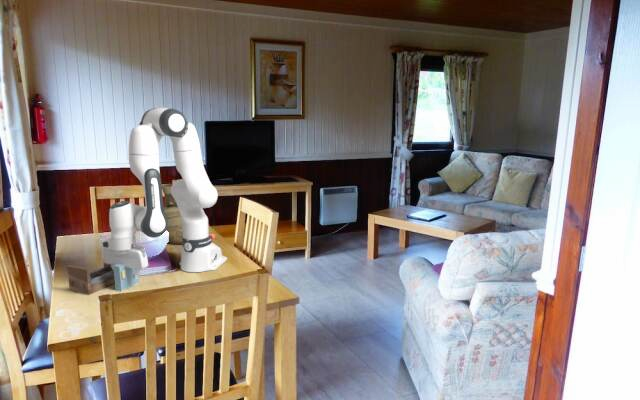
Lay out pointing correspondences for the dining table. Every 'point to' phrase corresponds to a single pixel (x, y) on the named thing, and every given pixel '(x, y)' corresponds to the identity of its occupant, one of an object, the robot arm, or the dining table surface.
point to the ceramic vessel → (172, 216)
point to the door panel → (123, 277)
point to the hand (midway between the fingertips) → (126, 276)
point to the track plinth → (90, 279)
